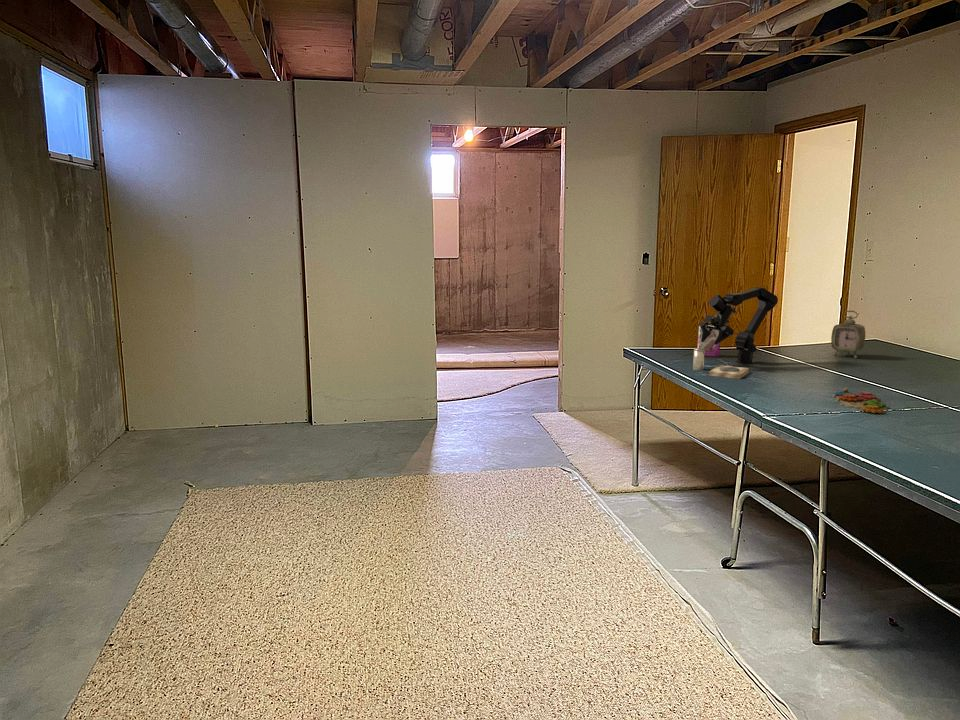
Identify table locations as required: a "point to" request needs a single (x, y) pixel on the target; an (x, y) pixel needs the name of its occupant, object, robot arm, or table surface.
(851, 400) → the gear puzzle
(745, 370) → the plinth
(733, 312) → the robot arm
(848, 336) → the tabletop clock
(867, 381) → the table surface
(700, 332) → the candy bar box
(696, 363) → the canister
